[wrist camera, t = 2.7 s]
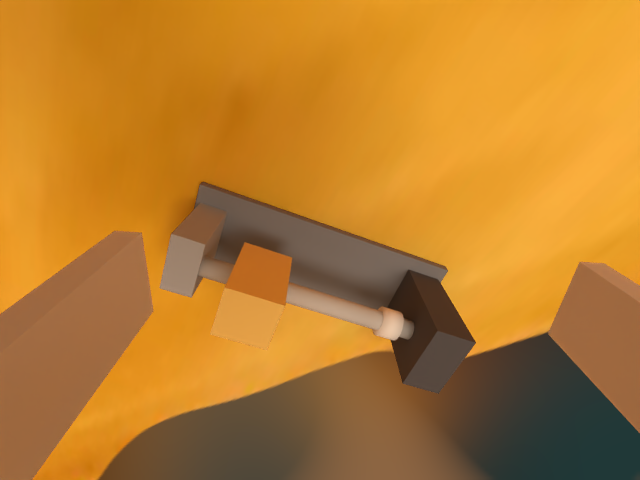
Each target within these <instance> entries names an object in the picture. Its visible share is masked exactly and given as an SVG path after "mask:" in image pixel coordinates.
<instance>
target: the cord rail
mask: <svg viewBox="0 0 640 480" xmlns="http://www.w3.org/2000/svg"><path fill="white" fill-rule="evenodd" d="M245 242H246V243H249V244H252V245H255V246H258V247H261V248H264V249H267V250H270V251H273V252H277V253H280V254H283V255H286V256H289V257H292V263H291V270H290V277H289V283H288V290H287V297H286V303H289V304H292V305H296V306H299V307H302V308H306V309H309V310H312V311H315V312H319V313H322V314H325V315H328V316H332V317H335V318H338V319H342V320H345V321H348V322H351V323H355V324H358V325H361V326H364V327H368V328H371V329H373V333H374V335H377V336H380V337H383V338H387V339H390V340H391V343H392V346H393V350H394V354H395V357H396V361H397V364H398V368H399V372H400V375H401V379H402V383H403V384H407V385H410V386H414V387H417V388H421V389H424V390H428V391H431V392H435V393H439V392H440V391H441V389H442V388H443V387H444V385H445V384H446V383H447V381H448V380H449V379H450V377H451V376H452V375H453V373H454V372H455V371H456V369H457V368H458V366H459V365H460V364H461V362H462V361H463V360H464V358H465V357H466V356H467V354H468V353H469V352H470V350H471V349H472V347H473V346H474V345H475V343H476V342H475V340H474V339H473V337H472V335H471V334H470V332H469V330H468V329H467V327H466V325H465V324H464V322H463V320H462V319H461V317H460V315H459V314H458V312H457V310H456V308H455V307H454V305H453V303H452V302H451V300H450V298H449V297H448V295H447V293H446V292H445V290H444V288H443V287H442V285H441V281H442V280H443V278H444V276H445V275H446V273H447V271H448V270H447V268H446V267H445V266H443V265H440V264H437V263H434V262H431V261H428V260H425V259H422V258H420V257H417V256H414V255H411V254H408V253H405V252H402V251H400V250H397V249H394V248H391V247H388V246H385V245H382V244H380V243H377V242H374V241H371V240H368V239H365V238H362V237H360V236H357V235H354V234H351V233H348V232H345V231H342V230H340V229H337V228H334V227H331V226H328V225H325V224H322V223H319V222H317V221H314V220H311V219H308V218H305V217H302V216H299V215H297V214H294V213H291V212H288V211H285V210H282V209H279V208H277V207H274V206H271V205H268V204H265V203H262V202H259V201H257V200H254V199H251V198H248V197H245V196H242V195H239V194H236V193H234V192H231V191H228V190H225V189H222V188H219V187H216V186H214V185H211V184H208V183H205V182H202V183H201V184H200V186H199V191H198V195H197V199H196V203H195V207H194V210H193V211H192V212H191V213H190V214H189V216H188V217H187V218H186V219H185V220H184V221H183V222H182V223H181V224H180V225H179V226H178V227H177V228H176V229H175V230H174V231H173V233H172V234H171V238H170V242H169V247H168V252H167V256H166V261H165V266H164V270H163V275H162V280H161V284H160V288H161V289H164V290H167V291H171V292H174V293H178V294H181V295H184V296H188V297H192V296H193V294H194V292H195V291H196V289H197V287H198V285H199V284H200V282H201V280H202V278H203V277H204V278H207V279H211V280H214V281H217V282H220V283H224V284H226V283H227V281H228V279H229V277H230V274H231V272H232V270H233V268H234V265H235V263H236V261H237V259H238V256H239V254H240V252H241V250H242V247H243V245H244V243H245Z"/></svg>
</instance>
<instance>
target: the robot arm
mask: <svg viewBox="0 0 640 480" xmlns="http://www.w3.org/2000/svg"><path fill="white" fill-rule="evenodd" d="M152 312H153V305H152V298H151V292H150V285H149V278H148V272H147V265H146V258H145V252H144V245H143V238H142V233H139V232H124V231H114V232H112V233H111V234H110V235H108V236H107V237H106V238H104V239H103V240H101V241H100V242H99V243H97V244H96V245H95V246H93V247H92V248H91V249H89V250H88V251H86V252H85V253H84V254H82V255H81V256H80V257H78V258H77V259H75V260H74V261H73V262H71V263H70V264H69V265H67V266H66V267H64V268H63V269H62V270H60V271H59V272H58V273H56V274H55V275H53V276H52V277H51V278H49V279H48V280H47V281H45V282H44V283H42V284H41V285H40V286H38V287H37V288H36V289H34V290H33V291H31V292H30V293H29V294H27V295H26V296H25V297H23V298H22V299H20V300H19V301H18V302H16V303H15V304H14V305H12V306H11V307H9V308H8V309H7V310H5V311H4V312H3V313H1V314H0V480H32V479H33V477H34V476H35V475H36V473H37V472H38V471H39V469H40V468H41V466H42V465H43V464H44V462H45V461H46V459H47V458H48V457H49V455H50V454H51V452H52V451H53V450H54V448H55V447H56V446H57V444H58V443H59V441H60V440H61V439H62V437H63V436H64V434H65V433H66V432H67V430H68V429H69V427H70V426H71V425H72V423H73V422H74V421H75V419H76V418H77V416H78V415H79V414H80V412H81V411H82V409H83V408H84V407H85V405H86V404H87V402H88V401H89V400H90V398H91V397H92V396H93V394H94V393H95V391H96V390H97V389H98V387H99V386H100V384H101V383H102V382H103V380H104V379H105V377H106V376H107V375H108V373H109V372H110V371H111V369H112V368H113V366H114V365H115V364H116V362H117V361H118V359H119V358H120V357H121V355H122V354H123V352H124V351H125V350H126V348H127V347H128V346H129V344H130V343H131V341H132V340H133V339H134V337H135V336H136V334H137V333H138V332H139V330H140V329H141V327H142V326H143V325H144V323H145V322H146V321H147V319H148V318H149V316H150V315H151V314H152ZM548 334H549V335H550V336H551V338H552V339H553V340H554V341H555V342H556V343H557V344H558V345H559V346H560V347H561V348H562V349H563V351H564V352H565V353H566V354H567V355H568V356H569V357H570V358H571V359H572V360H573V361H574V362H575V364H576V365H577V366H578V367H579V368H580V369H581V370H582V371H583V372H584V373H585V374H586V375H587V377H588V378H589V379H590V380H591V381H592V382H593V383H594V384H595V385H596V386H597V387H598V388H599V389H600V391H601V392H603V394H604V395H605V396H606V397H607V398H608V399H609V400H610V401H611V402H612V404H613V405H614V406H615V407H616V408H617V409H618V410H619V411H620V412H621V413H622V414H623V415H624V416H625V418H626V419H627V420H628V421H629V422H630V423H631V424H632V425H633V426H634V427H635V428H636V429H637V431H638V432H639V433H640V286H639V285H638V284H636V283H634V282H633V281H631V280H630V279H628V278H626V277H625V276H623V275H622V274H620V273H618V272H617V271H615V270H614V269H612V268H610V267H609V266H607V265H606V264H604V263H589V262H580V263H579V265H578V267H577V269H576V272H575V274H574V276H573V278H572V281H571V283H570V285H569V287H568V290H567V292H566V294H565V296H564V299H563V301H562V303H561V305H560V308H559V310H558V312H557V314H556V317H555V319H554V321H553V324H552V326H551V328H550V330H549V333H548Z"/></svg>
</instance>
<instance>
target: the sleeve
mask: <svg viewBox="0 0 640 480" xmlns="http://www.w3.org/2000/svg"><path fill="white" fill-rule="evenodd" d="M291 263H292V257H289V256H286V255H283V254H280V253H277V252H273V251H270V250H267V249H264V248H261V247H258V246H255V245H252V244H249V243H246V242H245V243H244V245H243V247H242V250H241V252H240V254H239V256H238V259H237V261H236V263H235V265H234V268H233V270H232V272H231V274H230V277H229V279H228V281H227V283H226V286H225V288H224V291H223V294H222V298H221V301H220V304H219V307H218V311H217V314H216V317H215V320H214V324H213V327H212V330H211V333H210V334H211V335H214V336H218V337H221V338H225V339H228V340H232V341H236V342H239V343H243V344H246V345H250V346H253V347H257V348H261V349H264V350H267V349H268V347H269V344H270V342H271V340H272V337H273V335H274V332H275V330H276V327H277V325H278V322H279V320H280V318H281V315H282V313H283V310H284V308H285V304H286V297H287V290H288V283H289V277H290V270H291Z"/></svg>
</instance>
